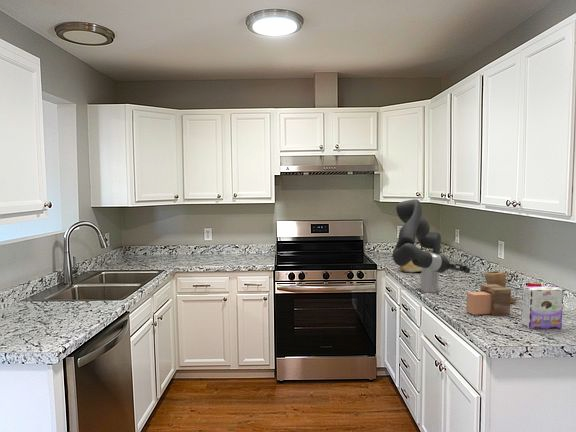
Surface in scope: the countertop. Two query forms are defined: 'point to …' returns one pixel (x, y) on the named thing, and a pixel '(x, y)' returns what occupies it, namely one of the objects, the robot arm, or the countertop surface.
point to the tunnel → (498, 298)
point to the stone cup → (497, 279)
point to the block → (479, 302)
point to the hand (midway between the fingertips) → (461, 269)
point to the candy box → (542, 307)
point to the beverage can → (533, 284)
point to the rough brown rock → (411, 267)
